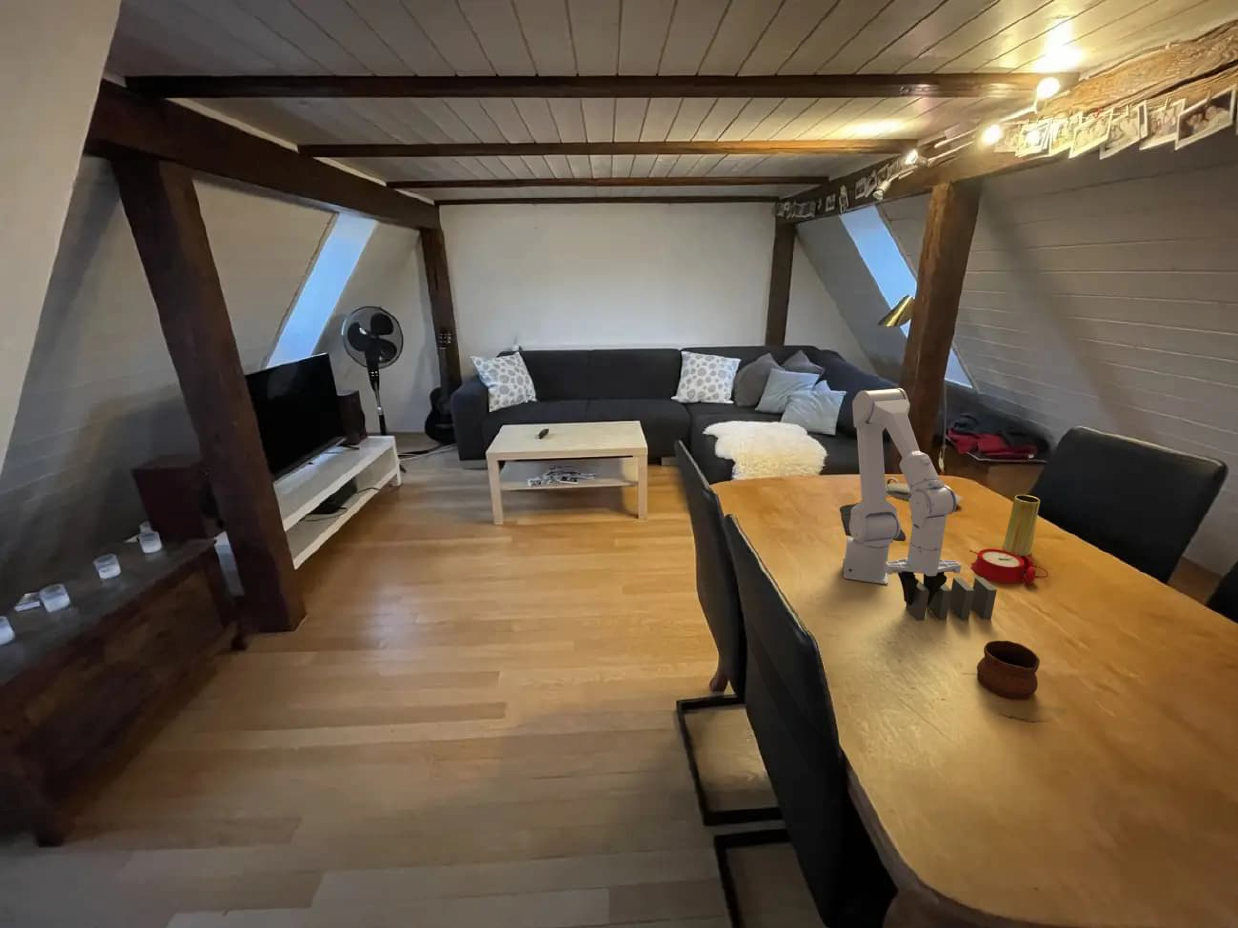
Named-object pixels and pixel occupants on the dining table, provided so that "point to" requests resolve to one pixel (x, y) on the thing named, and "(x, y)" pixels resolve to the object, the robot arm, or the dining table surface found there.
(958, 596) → the domino
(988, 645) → the ceramic pot
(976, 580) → the domino
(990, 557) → the alarm clock
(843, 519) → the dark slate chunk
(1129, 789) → the dining table surface
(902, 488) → the car model
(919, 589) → the loose domino
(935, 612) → the domino
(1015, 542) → the vase
